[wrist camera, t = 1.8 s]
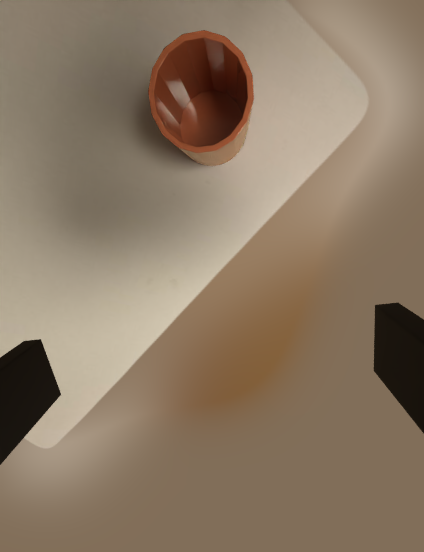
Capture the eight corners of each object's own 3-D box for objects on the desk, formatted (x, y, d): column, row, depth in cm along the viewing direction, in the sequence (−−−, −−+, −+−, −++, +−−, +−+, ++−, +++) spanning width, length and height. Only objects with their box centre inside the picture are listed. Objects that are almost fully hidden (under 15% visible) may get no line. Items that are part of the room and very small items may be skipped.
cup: (226, 72, 26) (221, 4, 17) (259, 142, 28) (271, 116, 18) (165, 114, 28) (129, 73, 18) (199, 178, 30) (182, 171, 20)
